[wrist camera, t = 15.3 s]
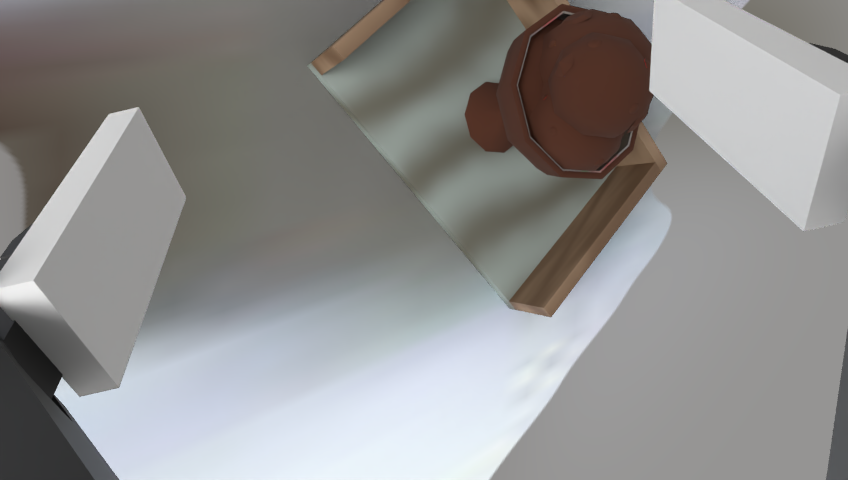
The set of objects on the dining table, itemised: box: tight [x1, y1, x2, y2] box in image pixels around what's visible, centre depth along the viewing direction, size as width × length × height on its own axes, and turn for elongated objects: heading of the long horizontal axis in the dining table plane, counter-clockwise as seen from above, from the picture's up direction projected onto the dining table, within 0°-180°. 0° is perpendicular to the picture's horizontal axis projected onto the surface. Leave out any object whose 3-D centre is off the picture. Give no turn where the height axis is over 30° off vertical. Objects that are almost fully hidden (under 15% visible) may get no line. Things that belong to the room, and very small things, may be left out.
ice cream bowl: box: [464, 4, 654, 179], centre depth 39 cm, size 11×11×15 cm
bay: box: [308, 0, 667, 317], centre depth 44 cm, size 24×17×5 cm
